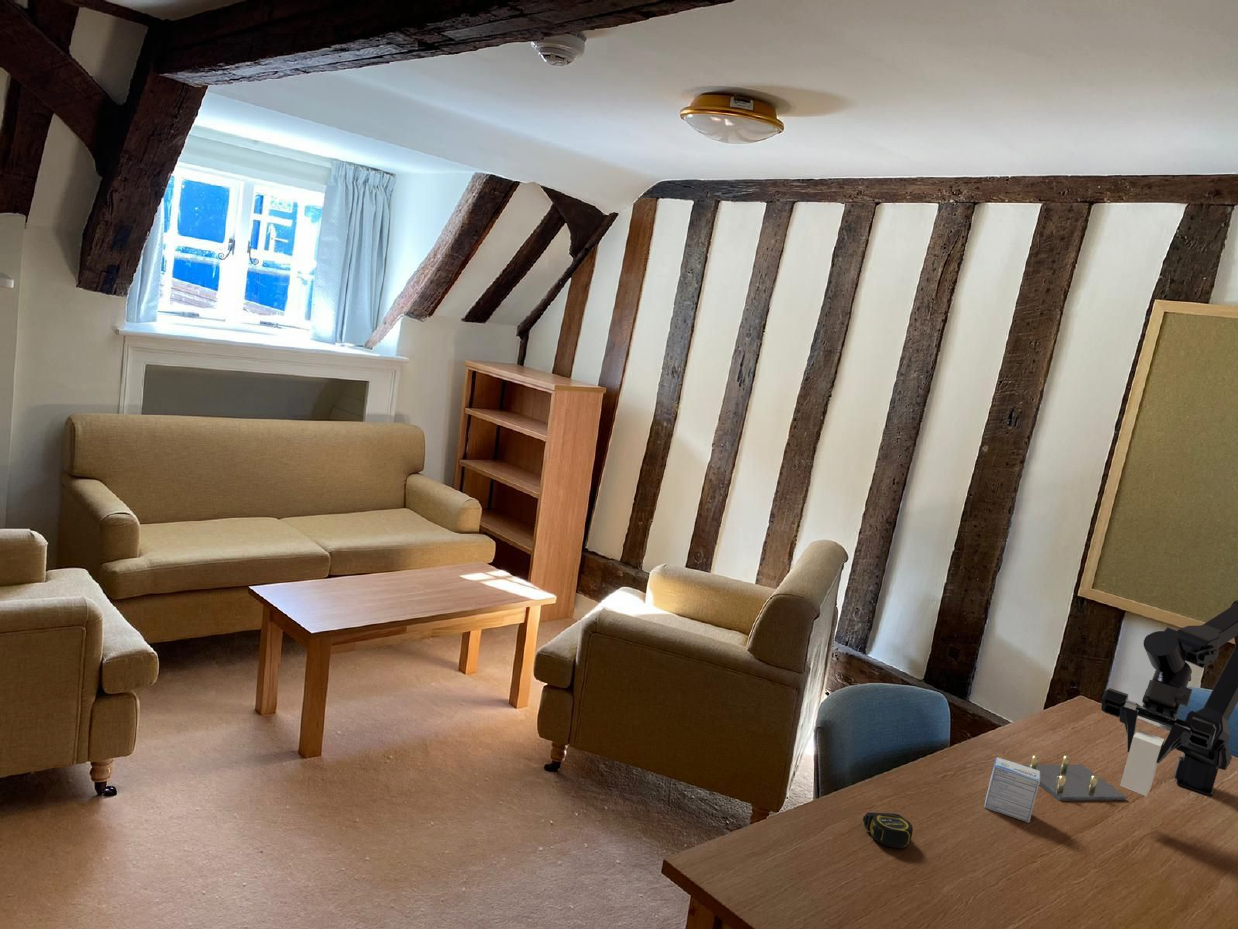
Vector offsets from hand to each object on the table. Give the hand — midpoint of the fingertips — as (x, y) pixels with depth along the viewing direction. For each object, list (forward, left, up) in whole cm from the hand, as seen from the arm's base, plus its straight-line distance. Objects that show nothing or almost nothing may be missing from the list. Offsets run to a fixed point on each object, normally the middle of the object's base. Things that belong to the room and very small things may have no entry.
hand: (1142, 756), depth 176 cm
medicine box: (+19, +13, -14) cm, 27 cm away
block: (0, -1, -7) cm, 7 cm away
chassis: (+10, -9, -13) cm, 19 cm away
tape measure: (+36, +40, -14) cm, 55 cm away
